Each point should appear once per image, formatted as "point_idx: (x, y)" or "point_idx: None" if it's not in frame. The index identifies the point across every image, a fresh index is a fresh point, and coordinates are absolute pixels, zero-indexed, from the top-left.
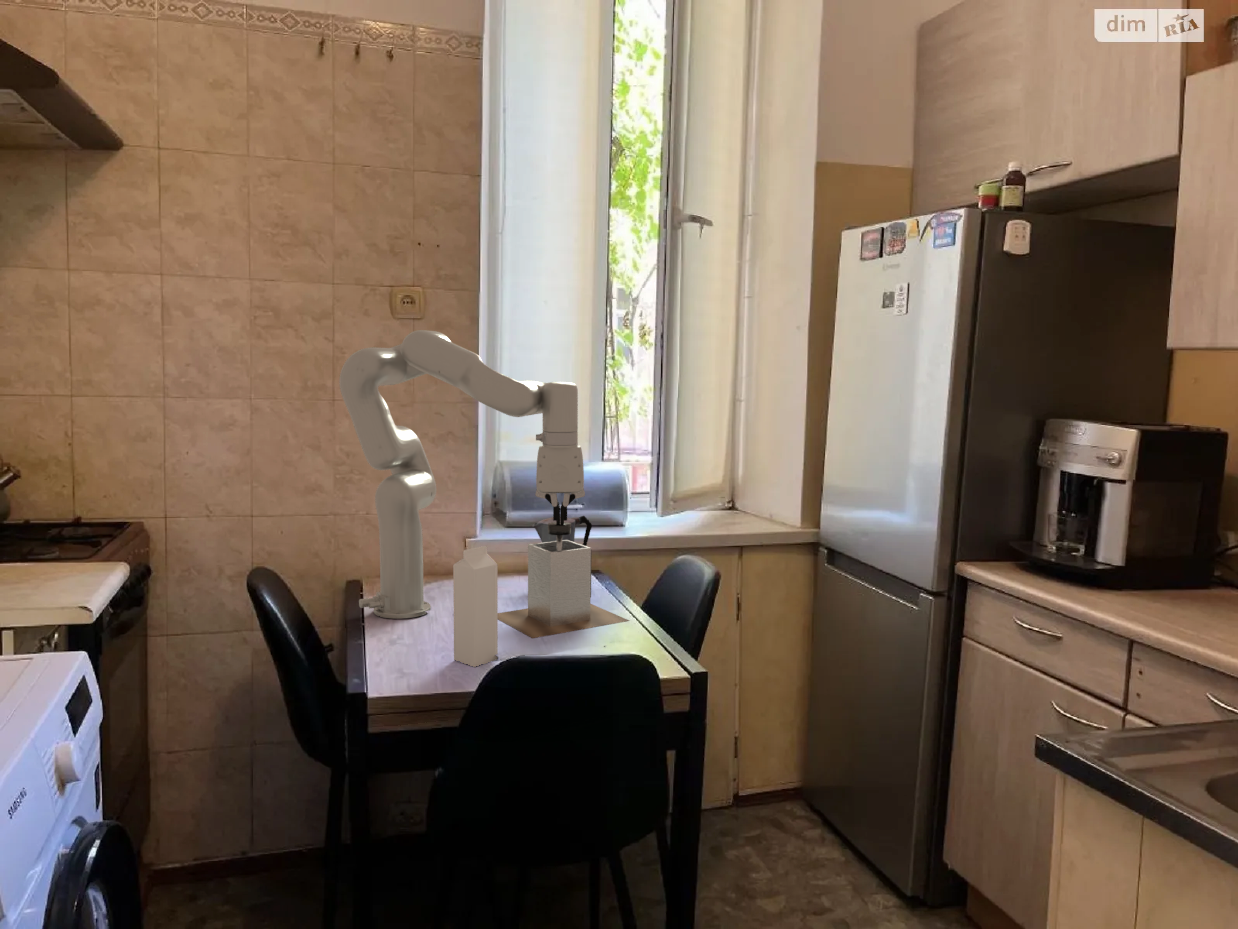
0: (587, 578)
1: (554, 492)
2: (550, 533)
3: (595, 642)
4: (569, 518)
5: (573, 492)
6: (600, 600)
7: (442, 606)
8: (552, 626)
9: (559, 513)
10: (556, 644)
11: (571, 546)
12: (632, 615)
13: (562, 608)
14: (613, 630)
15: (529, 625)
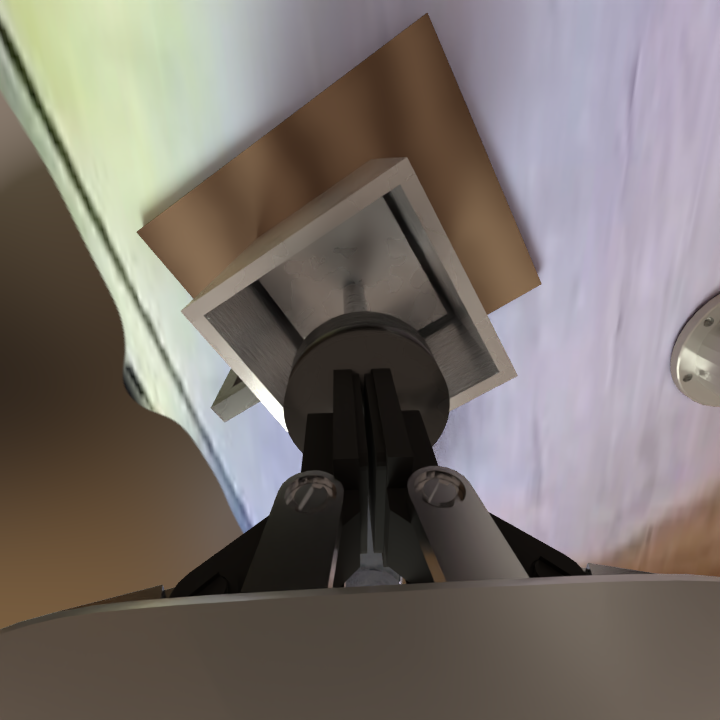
0: (236, 261)
1: (505, 580)
2: (421, 337)
3: (221, 41)
4: None
5: (125, 603)
6: (256, 448)
7: (634, 388)
8: (365, 162)
9: (373, 421)
10: (346, 16)
11: None
12: (154, 331)
13: (335, 186)
14: (184, 183)
15: (434, 173)
